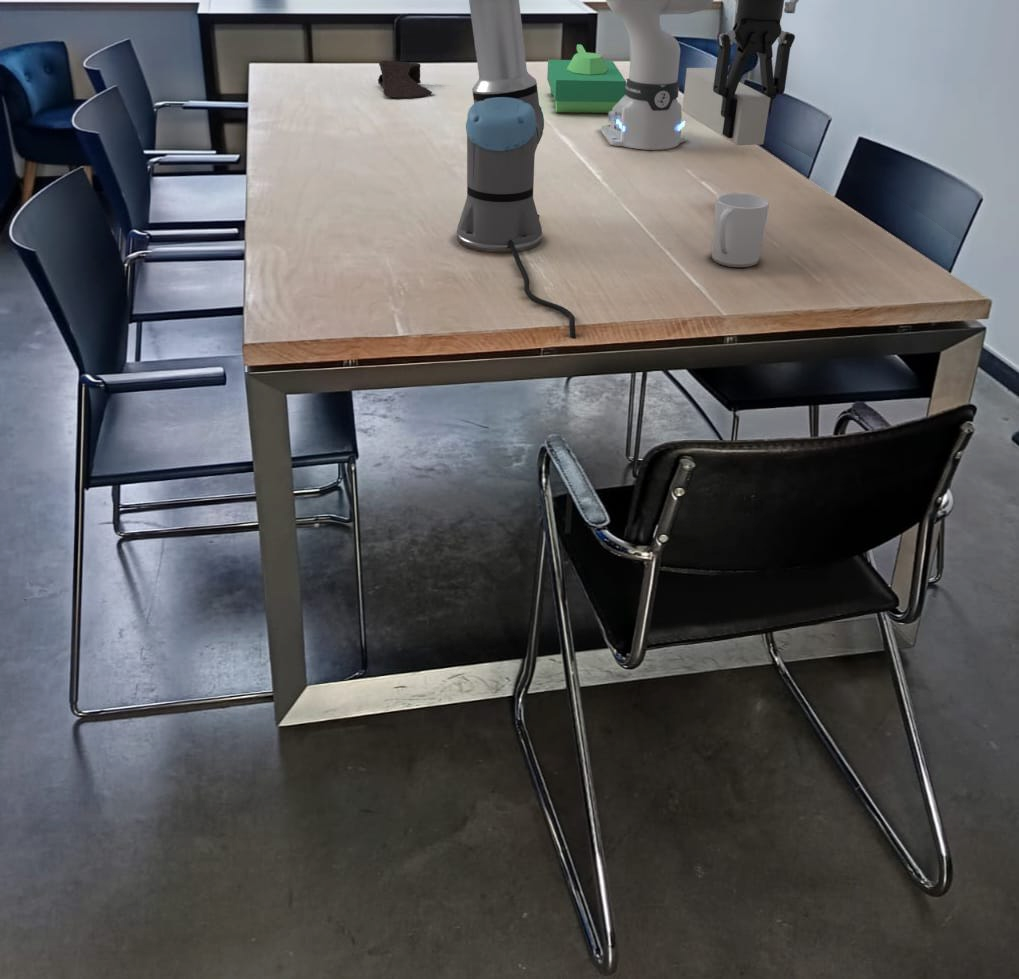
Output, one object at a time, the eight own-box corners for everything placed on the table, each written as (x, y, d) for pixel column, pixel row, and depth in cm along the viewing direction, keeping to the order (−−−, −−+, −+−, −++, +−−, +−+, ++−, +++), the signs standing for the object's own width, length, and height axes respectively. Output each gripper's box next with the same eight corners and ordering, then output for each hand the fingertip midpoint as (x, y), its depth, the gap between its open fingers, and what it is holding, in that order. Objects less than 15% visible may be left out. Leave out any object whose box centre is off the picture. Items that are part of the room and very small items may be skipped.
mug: (725, 247, 195) (732, 189, 189) (770, 259, 190) (779, 200, 184) (692, 263, 187) (699, 203, 182) (739, 275, 183) (747, 215, 177)
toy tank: (609, 41, 303) (627, 65, 273) (606, 87, 310) (623, 116, 280) (546, 39, 302) (556, 64, 272) (544, 86, 309) (554, 115, 279)
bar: (763, 144, 193) (770, 97, 189) (736, 145, 192) (743, 98, 188) (706, 110, 214) (711, 67, 210) (681, 111, 213) (686, 68, 209)
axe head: (443, 87, 294) (392, 77, 287) (436, 115, 299) (385, 106, 292) (421, 62, 307) (371, 52, 300) (414, 89, 311) (365, 80, 304)
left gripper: (801, -10, 188) (779, 128, 200) (702, -10, 184) (687, 131, 196) (822, -4, 182) (798, 139, 194) (720, -4, 178) (703, 142, 190)
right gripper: (824, -72, 199) (812, 10, 207) (716, -73, 197) (707, 10, 204) (838, -69, 194) (824, 15, 201) (727, -70, 191) (717, 15, 199)
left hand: (742, 135), depth 195 cm, fingers closed on bar, 5 cm apart
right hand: (764, 12), depth 203 cm, fingers open, 8 cm apart
